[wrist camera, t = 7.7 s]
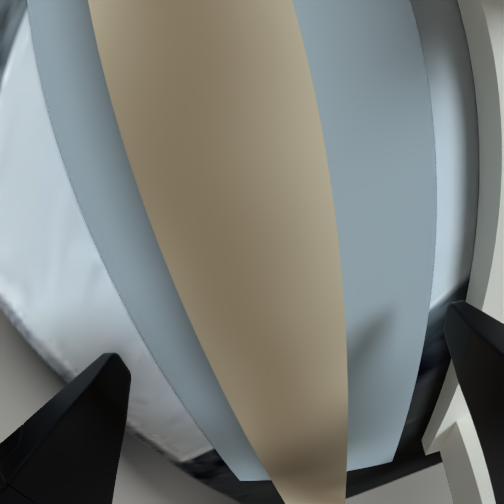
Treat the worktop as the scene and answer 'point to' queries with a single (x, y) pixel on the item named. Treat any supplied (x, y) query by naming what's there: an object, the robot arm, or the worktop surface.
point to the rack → (477, 253)
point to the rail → (241, 214)
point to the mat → (344, 197)
